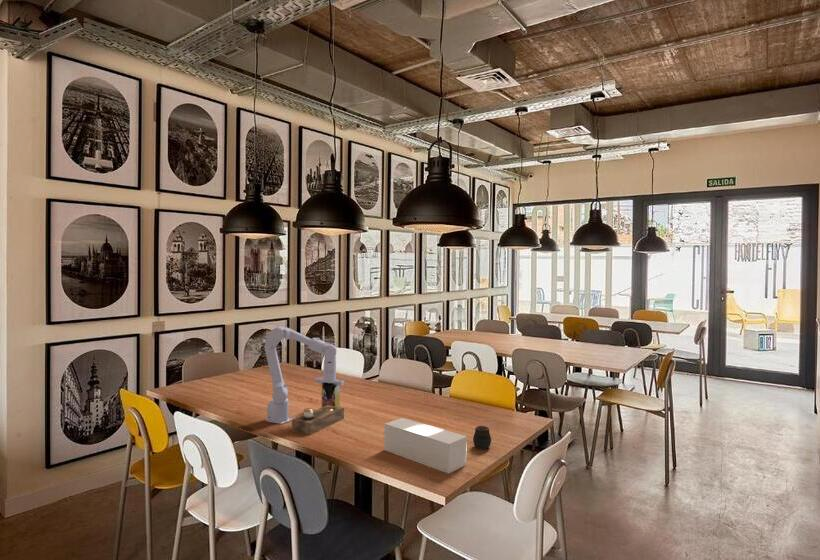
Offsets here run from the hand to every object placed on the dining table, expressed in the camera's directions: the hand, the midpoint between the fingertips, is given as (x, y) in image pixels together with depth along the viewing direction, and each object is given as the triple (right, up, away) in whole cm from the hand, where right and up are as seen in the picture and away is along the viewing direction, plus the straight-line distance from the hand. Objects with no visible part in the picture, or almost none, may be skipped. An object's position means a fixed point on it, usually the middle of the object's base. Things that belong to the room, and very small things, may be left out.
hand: (329, 398), depth 226 cm
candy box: (-2, -10, +17) cm, 19 cm away
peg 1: (-7, -6, -14) cm, 17 cm away
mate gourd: (+67, -12, -33) cm, 76 cm away
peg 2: (0, -9, 0) cm, 9 cm away
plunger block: (-3, -10, -7) cm, 13 cm away
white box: (+43, -12, -44) cm, 63 cm away
